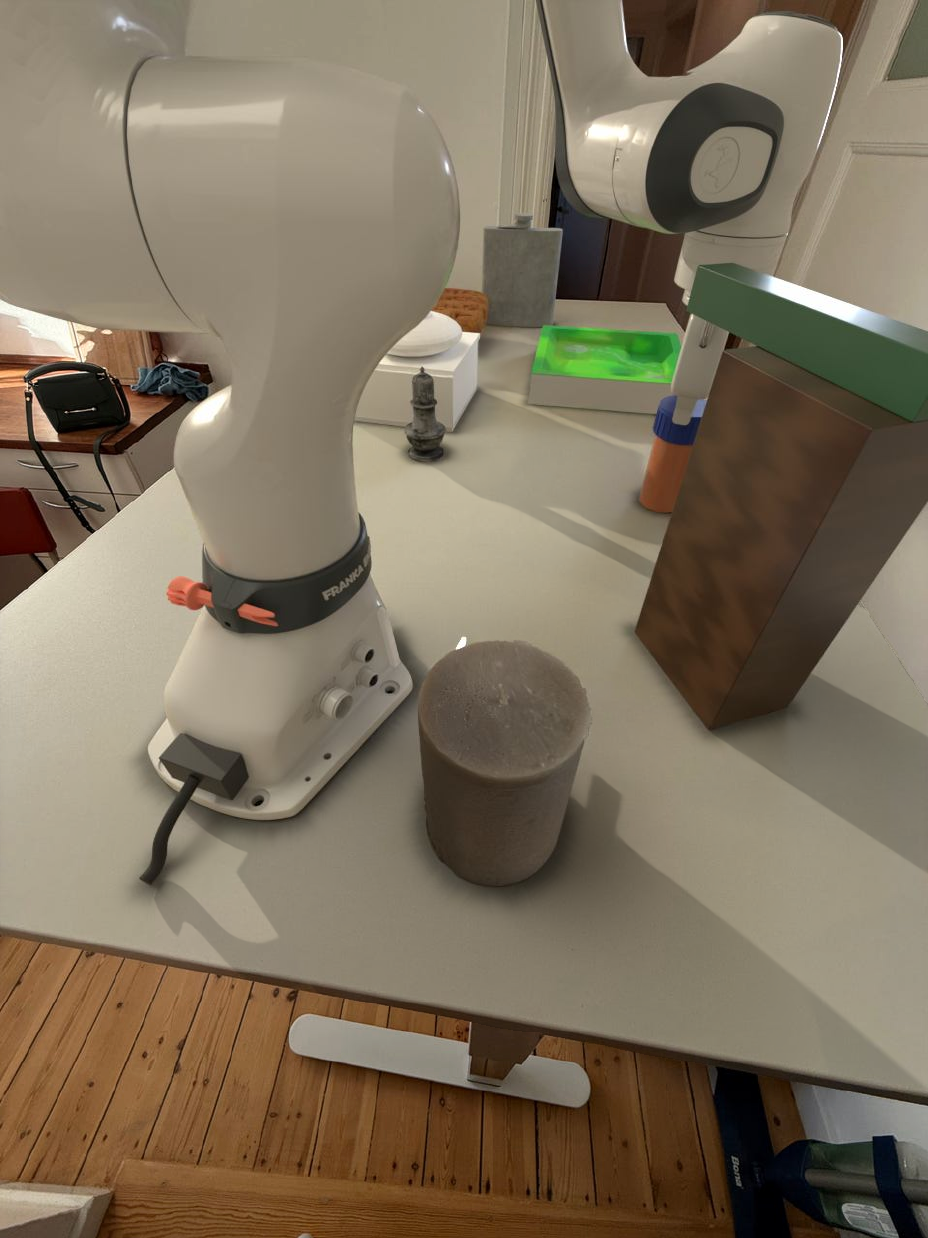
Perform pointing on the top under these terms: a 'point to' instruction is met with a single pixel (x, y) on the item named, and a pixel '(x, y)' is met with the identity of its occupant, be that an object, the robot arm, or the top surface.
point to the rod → (819, 335)
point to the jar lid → (677, 432)
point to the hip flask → (520, 272)
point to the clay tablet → (464, 308)
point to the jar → (664, 475)
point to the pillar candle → (499, 757)
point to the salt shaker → (424, 421)
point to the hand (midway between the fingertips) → (684, 406)
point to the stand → (776, 533)
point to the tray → (603, 368)
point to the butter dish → (441, 357)
